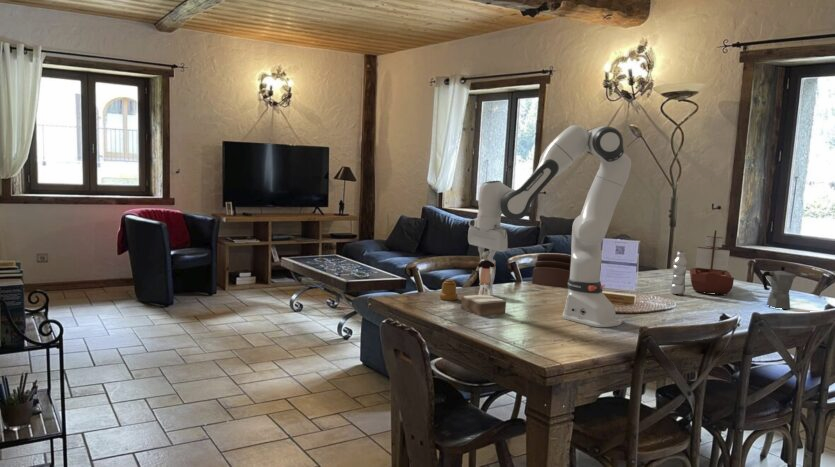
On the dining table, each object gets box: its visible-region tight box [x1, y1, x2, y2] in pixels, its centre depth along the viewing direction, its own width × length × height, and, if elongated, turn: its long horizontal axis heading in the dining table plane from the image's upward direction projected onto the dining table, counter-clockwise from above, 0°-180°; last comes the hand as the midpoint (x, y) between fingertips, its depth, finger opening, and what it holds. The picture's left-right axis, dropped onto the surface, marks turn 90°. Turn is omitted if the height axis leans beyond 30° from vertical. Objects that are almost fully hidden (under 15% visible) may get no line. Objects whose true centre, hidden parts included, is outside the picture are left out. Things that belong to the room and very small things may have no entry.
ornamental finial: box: [439, 279, 459, 302], centre depth 263 cm, size 8×8×8 cm
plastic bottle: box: [670, 250, 689, 296], centre depth 295 cm, size 6×7×20 cm
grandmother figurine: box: [475, 250, 497, 286], centre depth 243 cm, size 8×4×13 cm, turn 112°
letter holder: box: [531, 253, 571, 289], centre depth 305 cm, size 10×20×14 cm, turn 68°
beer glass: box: [478, 259, 496, 297], centre depth 274 cm, size 7×7×15 cm
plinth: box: [460, 294, 507, 317], centre depth 245 cm, size 12×12×5 cm
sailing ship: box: [689, 230, 735, 295], centre depth 312 cm, size 18×40×29 cm, turn 158°
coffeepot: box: [761, 266, 798, 310], centre depth 277 cm, size 15×9×18 cm, turn 92°
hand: (486, 259), depth 243 cm, fingers closed on grandmother figurine, 3 cm apart
